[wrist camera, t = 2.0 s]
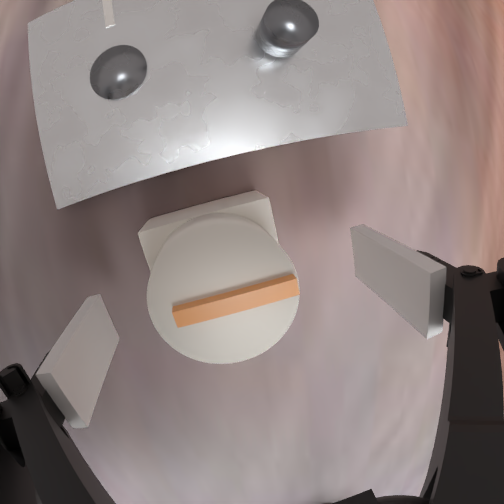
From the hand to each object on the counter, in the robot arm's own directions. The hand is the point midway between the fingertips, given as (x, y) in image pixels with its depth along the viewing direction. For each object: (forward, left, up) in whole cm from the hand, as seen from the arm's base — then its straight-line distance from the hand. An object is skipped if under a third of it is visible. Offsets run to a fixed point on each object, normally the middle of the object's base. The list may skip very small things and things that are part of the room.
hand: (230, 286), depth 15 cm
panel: (+3, +13, -6) cm, 14 cm away
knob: (0, 0, -6) cm, 6 cm away
